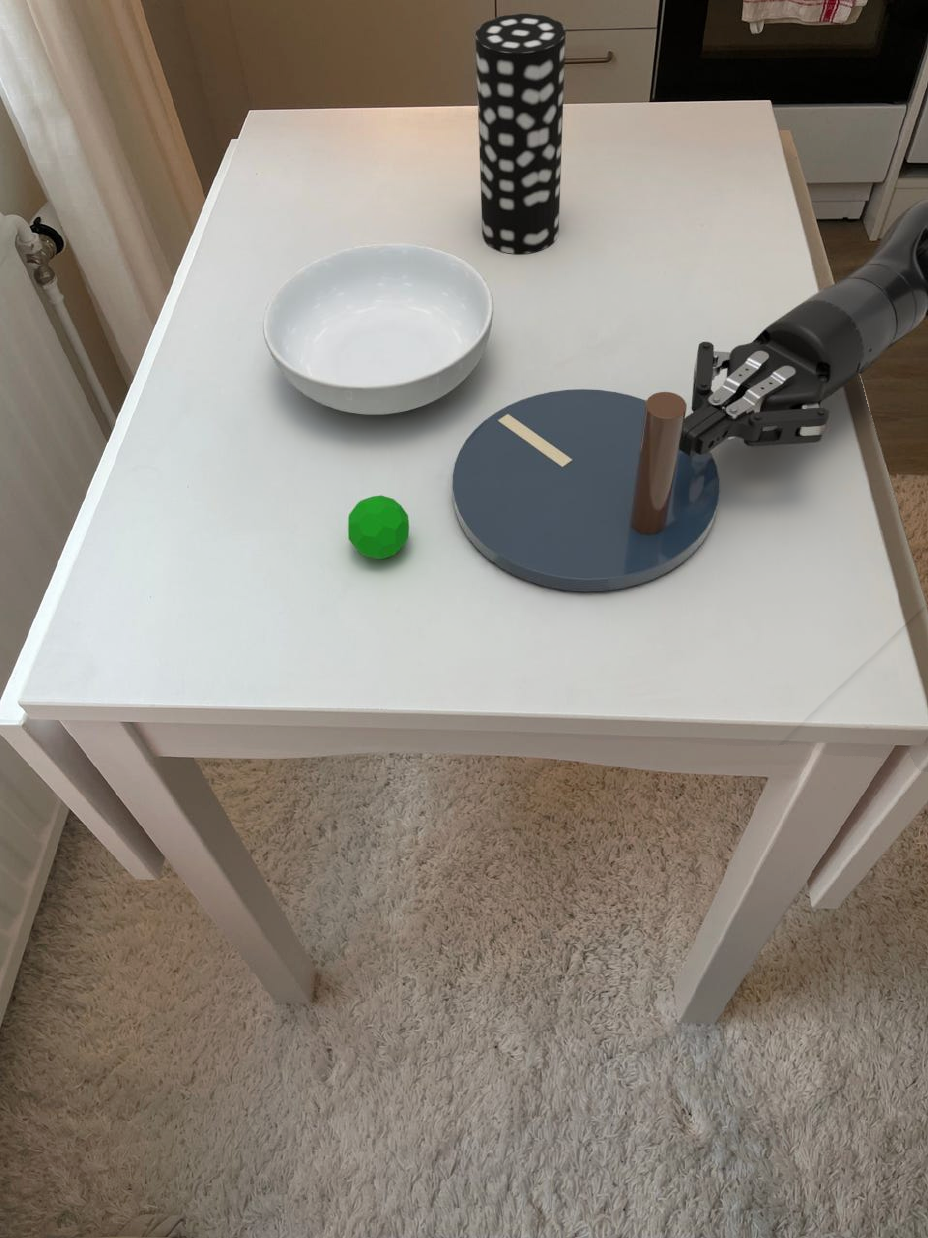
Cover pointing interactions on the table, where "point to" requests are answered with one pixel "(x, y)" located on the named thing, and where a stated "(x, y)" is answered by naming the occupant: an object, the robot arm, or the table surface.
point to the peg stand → (585, 489)
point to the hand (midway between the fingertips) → (684, 444)
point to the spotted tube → (520, 130)
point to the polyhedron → (378, 527)
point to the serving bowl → (379, 327)
